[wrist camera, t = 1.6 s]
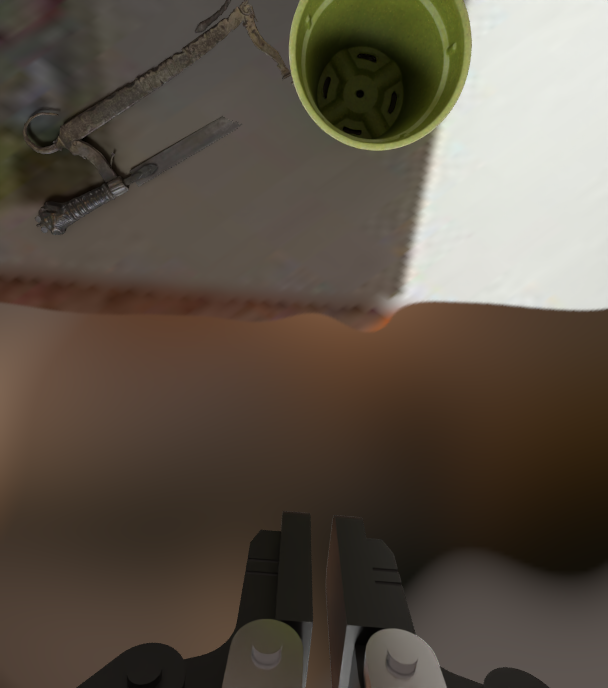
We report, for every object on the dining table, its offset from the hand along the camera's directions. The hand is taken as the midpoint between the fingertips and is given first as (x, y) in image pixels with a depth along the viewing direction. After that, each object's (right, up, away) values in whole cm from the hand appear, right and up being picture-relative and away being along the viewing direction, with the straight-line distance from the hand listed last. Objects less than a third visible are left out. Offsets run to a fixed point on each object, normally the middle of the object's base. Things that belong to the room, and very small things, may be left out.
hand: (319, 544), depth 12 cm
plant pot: (+4, +22, +20) cm, 30 cm away
